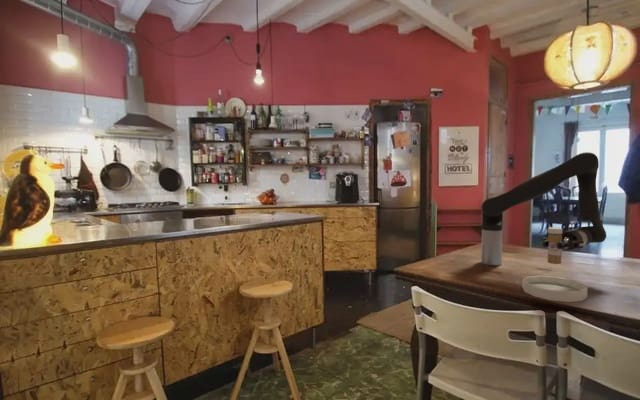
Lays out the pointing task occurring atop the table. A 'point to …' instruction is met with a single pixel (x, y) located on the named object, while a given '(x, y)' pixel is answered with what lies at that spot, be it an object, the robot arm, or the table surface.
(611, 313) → the table surface
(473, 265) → the table surface
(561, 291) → the bowl
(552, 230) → the sprinkles bottle
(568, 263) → the table surface
